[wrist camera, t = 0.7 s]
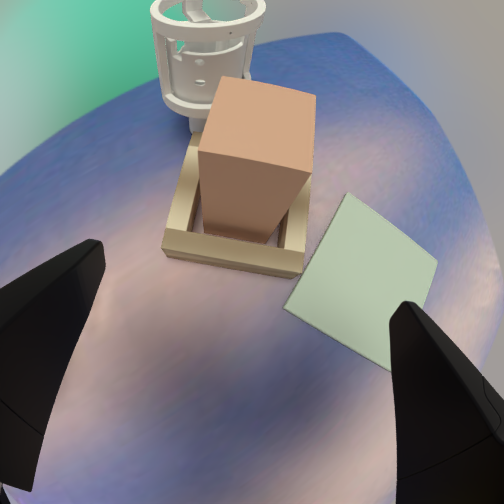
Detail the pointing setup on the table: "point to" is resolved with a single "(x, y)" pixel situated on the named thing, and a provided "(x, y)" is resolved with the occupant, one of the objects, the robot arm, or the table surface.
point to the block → (254, 157)
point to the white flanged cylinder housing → (201, 55)
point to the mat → (361, 280)
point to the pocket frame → (228, 250)
